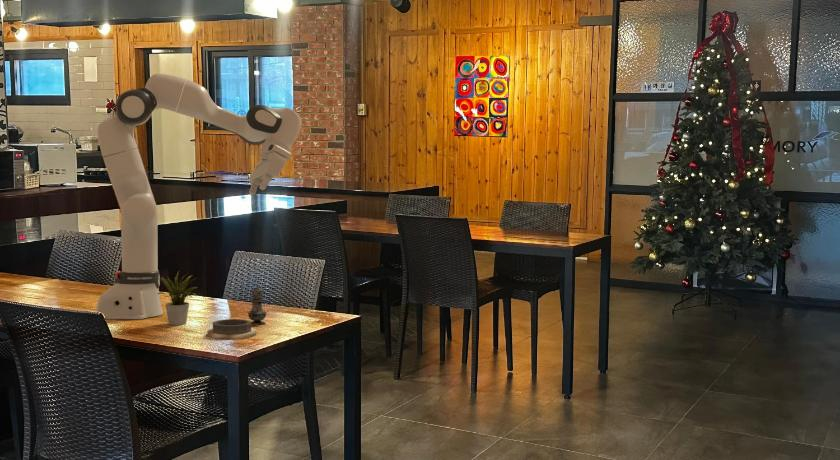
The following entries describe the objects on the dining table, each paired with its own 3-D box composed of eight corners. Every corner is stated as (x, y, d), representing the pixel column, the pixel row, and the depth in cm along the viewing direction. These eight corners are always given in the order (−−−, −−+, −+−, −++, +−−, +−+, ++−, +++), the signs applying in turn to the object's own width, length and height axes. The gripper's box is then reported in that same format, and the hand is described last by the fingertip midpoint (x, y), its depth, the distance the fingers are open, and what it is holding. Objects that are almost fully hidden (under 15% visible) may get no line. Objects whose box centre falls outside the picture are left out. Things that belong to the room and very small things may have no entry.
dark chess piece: (262, 326, 284) (262, 286, 283) (244, 325, 285) (244, 286, 284) (269, 322, 290) (269, 284, 289) (251, 321, 291) (251, 283, 290)
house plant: (152, 329, 275) (152, 274, 274) (146, 321, 288) (145, 269, 287) (201, 326, 281) (201, 273, 280) (193, 319, 294) (193, 267, 292)
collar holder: (207, 339, 262) (207, 327, 261) (207, 330, 275) (207, 318, 275) (257, 338, 265) (257, 326, 264) (255, 329, 278) (255, 317, 278)
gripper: (254, 155, 312) (237, 191, 308) (276, 143, 294) (258, 181, 290) (271, 164, 315) (254, 200, 310) (293, 153, 297) (276, 191, 293)
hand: (256, 191), depth 300 cm, fingers open, 8 cm apart
